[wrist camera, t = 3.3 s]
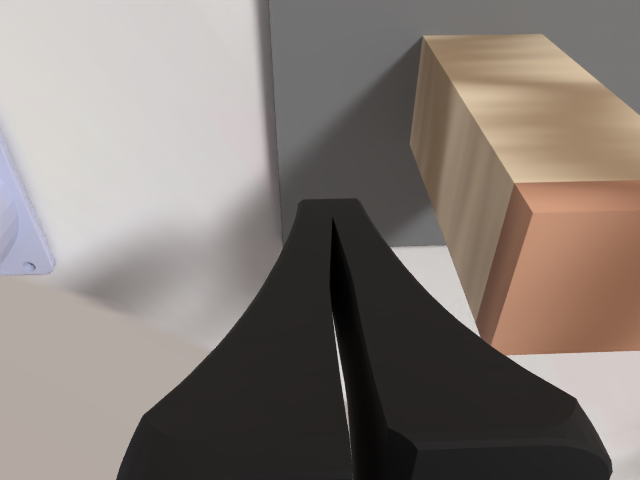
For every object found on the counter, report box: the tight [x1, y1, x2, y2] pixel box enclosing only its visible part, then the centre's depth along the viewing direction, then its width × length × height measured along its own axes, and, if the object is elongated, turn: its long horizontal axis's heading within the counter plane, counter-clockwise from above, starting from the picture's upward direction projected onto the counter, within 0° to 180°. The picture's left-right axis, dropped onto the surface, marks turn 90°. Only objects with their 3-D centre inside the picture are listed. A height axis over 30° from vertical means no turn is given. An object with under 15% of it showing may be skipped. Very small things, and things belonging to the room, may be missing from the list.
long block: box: [410, 34, 640, 355], centre depth 14 cm, size 4×4×10 cm
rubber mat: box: [269, 0, 640, 247], centre depth 19 cm, size 22×14×1 cm, turn 90°
